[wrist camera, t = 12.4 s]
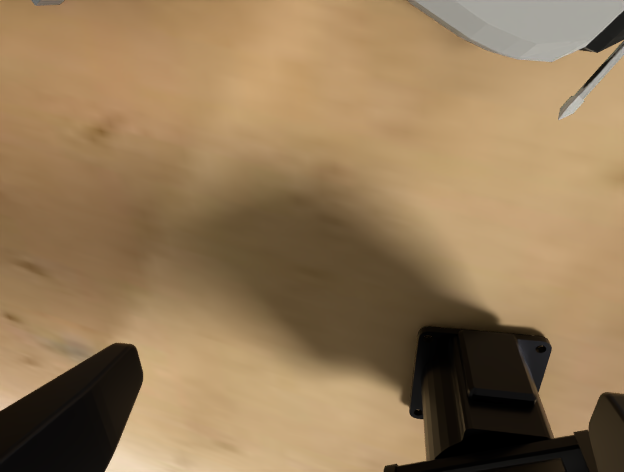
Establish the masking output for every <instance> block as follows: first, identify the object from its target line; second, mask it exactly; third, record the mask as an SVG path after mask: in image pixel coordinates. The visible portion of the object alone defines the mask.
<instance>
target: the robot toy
mask: <svg viewBox="0 0 624 472" xmlns="http://www.w3.org/2000/svg"><path fill="white" fill-rule="evenodd" d="M407 1H408V2H409V3H410V4H412V5H413V6H415V7H416V8H418V9H419V10H421V11H422V12H424V13H425V14H426V15H428V16H429V17H431V18H432V19H434V20H435V21H437V22H438V23H440V24H441V25H442V26H444V27H445V28H447V29H448V30H450V31H451V32H453V33H454V34H456V35H457V36H458V37H460V38H462V39H464V40H467V41H469V42H471V43H473V44H475V45H477V46H479V47H481V48H483V49H485V50H487V51H490V52H493V53H496V54H499V55H503V56H507V57H511V58H514V59H521V60H534V61H547V62H553V61H555V60H557V59H559V58H562V57H564V56H566V55H568V54H570V53H573V52H575V51H577V50H583V51H590V52H597V53H598V52H600V51H602V50H604V49H606V48H608V47H610V46H612V45H614V44H616V43H618V42H620V41H622V40H624V0H407ZM623 55H624V41H623V42H622V43H621V44H620V45H619V46H618V48H617V49H616V50H615V51H614V52H613V53H612V54H611V55H610V56H609V58H608V59H607V60H606V61H605V62H604V63H603V64H602V65H601V66H600V67H599V69H598V70H597V71H596V72H595V73H594V74H593V75H592V76H591V77H590V79H589V80H588V81H587V82H586V83H585V84H584V85H583V86H582V87H581V89H580V90H579V91H578V92H577V93H576V94H575V95H574V96H571V97H570V98H569V99H568V100H567V101H566V102H565V104H564V105H563V106H562V107H561V108H560V112H559V118H558V120H560V119H562V118H564V117H567V116H569V115H571V114H573V113H574V112H575V111H576V110H577V109H578V108H579V107H580V105H581V104H582V103H583V102H584V100H583V99H584V98H585V97H586V96H587V95H588V94H589V93H590V92H591V90H592V89H593V88H594V87H595V86H596V85H597V84H598V83H599V82H600V81H601V79H602V78H603V77H604V76H605V75H606V74H607V73H608V72H609V71H610V70H611V68H612V67H613V66H614V65H615V64H616V63H617V62H618V61H619V60H620V58H621V57H622V56H623Z"/></svg>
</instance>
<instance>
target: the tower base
mask: <svg viewBox="0 0 624 472" xmlns="http://www.w3.org/2000/svg"><path fill="white" fill-rule="evenodd" d="M63 1H64V0H32V2H33V3H34V4H35V6H40V5H60V4H61V3H62V2H63Z"/></svg>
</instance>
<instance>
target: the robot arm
mask: <svg viewBox="0 0 624 472" xmlns="http://www.w3.org/2000/svg"><path fill="white" fill-rule="evenodd" d="M426 335H430V336H432V337H430V338H426V337H425V336H426ZM540 345H543V346H542V347H540V348H537V346H540ZM551 349H552V347H551V345H550V343H549V341H548V339H547V338H545V337H542V336H532V335H521V334H509V333H498V332H486V331H475V330H463V329H452V328H440V327H423V328H421V329H420V330H419V332H418V339H417V347H416V355H415V363H414V371H413V380H412V388H411V396H410V404H409V412H410V415H411V416H412V417H414V418H417V419H424V433H425V447H426V461H423V462H417V463H411V464H406V465H400V466H398V465H397V464H393V465H387V466H385V468H384V472H624V394H620V393H610V392H605V393H603V394H601V395H600V397H599V399H598V402H597V404H596V407H595V409H594V412H593V414H592V417H591V419H590V422H589V432H588V430H584V431H578V432H574V435H570V436H564V437H559V438H554V436H553V433H552V430H551V428H550V425H549V422H548V419H547V416H546V414H545V411H544V408H543V405H542V402H541V400H540V397H539V394H538V392H539V389H540V386H541V382H542V379H543V376H544V373H545V370H546V366H547V363H548V360H549V357H550V353H551ZM142 382H143V370H142V367H141V363H140V359H139V355H138V352H137V349H136V347H135V346H134V345H132V344H125V343H114V344H112V345H110V346H108V347H107V348H105V349H103V350H102V351H100V352H98V353H97V354H95V355H93V356H92V357H90V358H88V359H87V360H85V361H83V362H82V363H80V364H78V365H77V366H75V367H73V368H72V369H70V370H68V371H67V372H65V373H63V374H62V375H60V376H58V377H57V378H55V379H53V380H52V381H50V382H48V383H47V384H45V385H43V386H42V387H40V388H38V389H37V390H35V391H33V392H32V393H30V394H28V395H27V396H25V397H23V398H22V399H20V400H18V401H17V402H15V403H13V404H12V405H10V406H8V407H7V408H5V409H3V410H2V411H0V472H105V470H106V468H107V466H108V464H109V462H110V460H111V458H112V456H113V454H114V452H115V450H116V447H117V445H118V443H119V440H120V438H121V435H122V433H123V430H124V428H125V425H126V423H127V420H128V418H129V415H130V413H131V410H132V408H133V405H134V403H135V400H136V398H137V395H138V393H139V390H140V388H141V385H142Z"/></svg>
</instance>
